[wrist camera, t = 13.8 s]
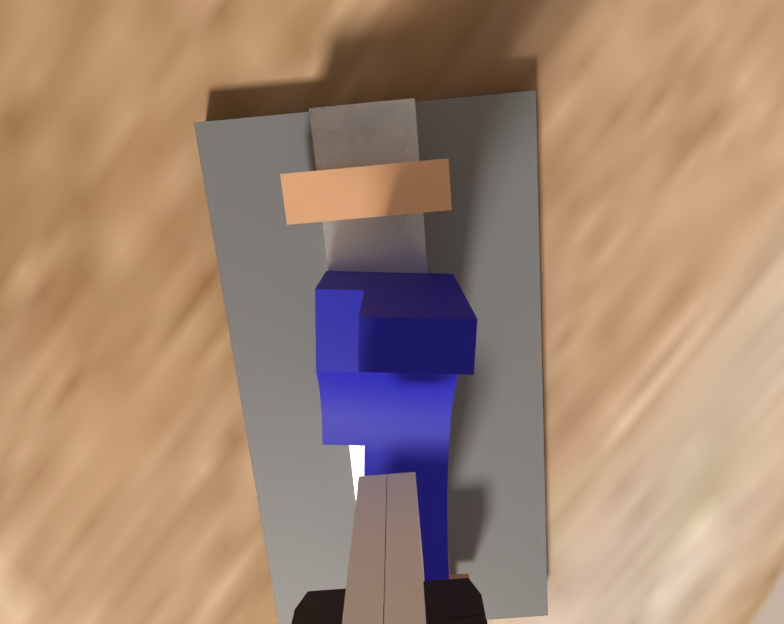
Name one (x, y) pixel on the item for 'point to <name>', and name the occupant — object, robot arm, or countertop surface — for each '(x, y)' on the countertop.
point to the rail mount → (401, 255)
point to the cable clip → (396, 380)
